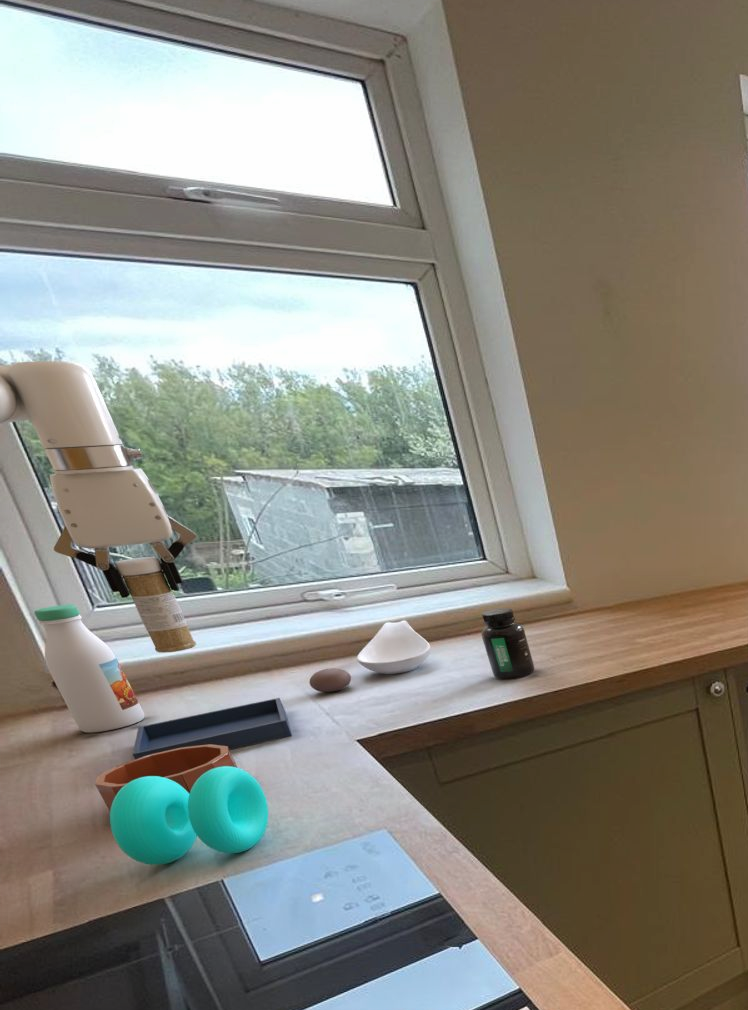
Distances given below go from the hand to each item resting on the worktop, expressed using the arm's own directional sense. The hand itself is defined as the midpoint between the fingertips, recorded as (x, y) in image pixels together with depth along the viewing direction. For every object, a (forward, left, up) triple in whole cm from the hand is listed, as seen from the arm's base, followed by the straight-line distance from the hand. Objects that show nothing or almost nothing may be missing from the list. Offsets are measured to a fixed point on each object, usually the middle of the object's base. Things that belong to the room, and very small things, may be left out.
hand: (150, 591), depth 118 cm
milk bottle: (-13, +23, -24) cm, 36 cm away
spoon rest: (+28, +26, -24) cm, 45 cm away
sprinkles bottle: (0, 0, -9) cm, 9 cm away
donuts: (-1, -48, -24) cm, 53 cm away
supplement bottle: (+42, -1, -24) cm, 48 cm away
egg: (+16, +15, -24) cm, 33 cm away
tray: (0, 0, -24) cm, 24 cm away
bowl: (-4, -25, -24) cm, 34 cm away
